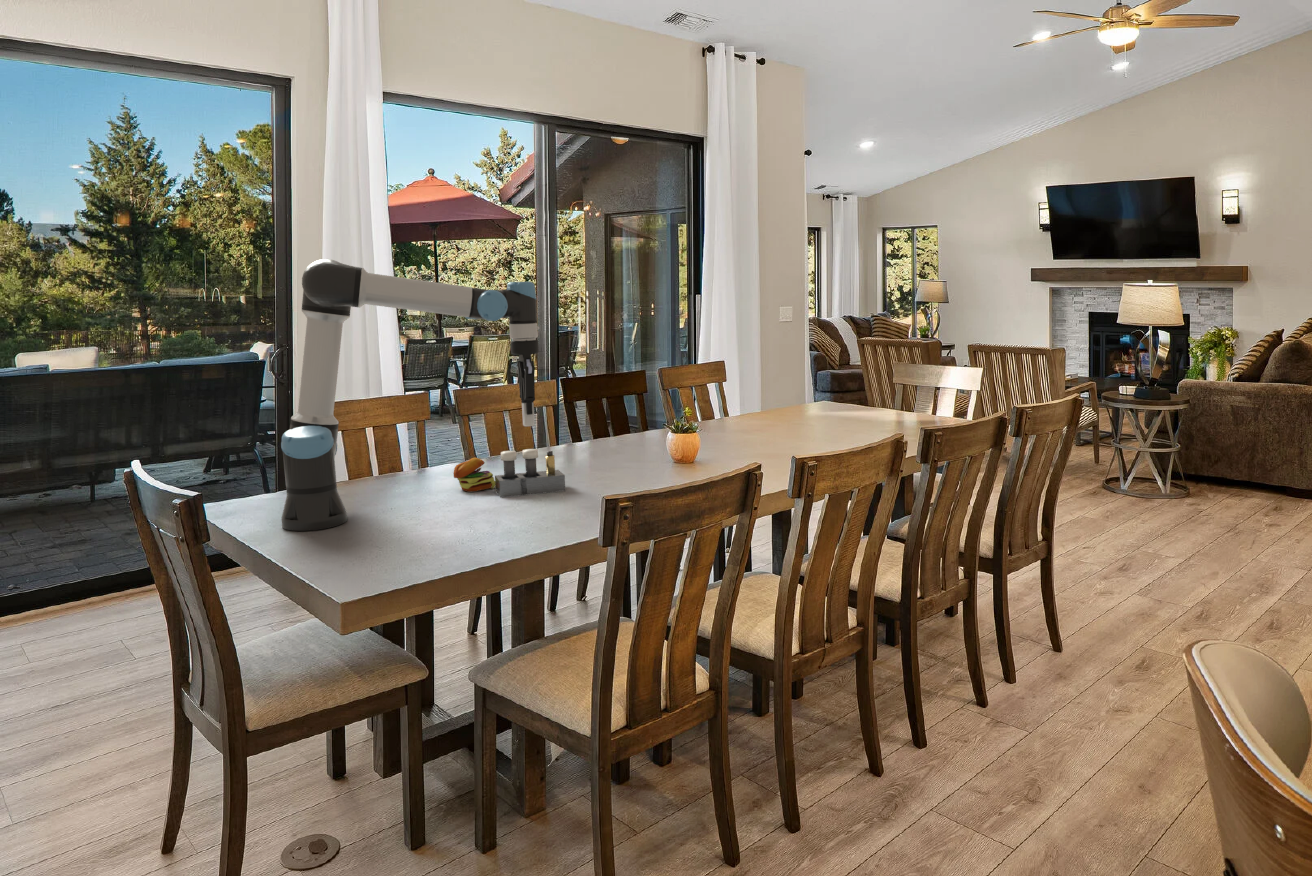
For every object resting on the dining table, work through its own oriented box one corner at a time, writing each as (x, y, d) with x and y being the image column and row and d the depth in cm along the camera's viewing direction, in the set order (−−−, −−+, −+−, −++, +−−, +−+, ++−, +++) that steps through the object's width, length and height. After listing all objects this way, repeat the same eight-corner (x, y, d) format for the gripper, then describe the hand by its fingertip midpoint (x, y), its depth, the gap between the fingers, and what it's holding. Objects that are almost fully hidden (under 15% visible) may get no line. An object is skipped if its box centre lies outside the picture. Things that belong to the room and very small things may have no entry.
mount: (500, 497, 249) (499, 481, 248) (495, 491, 256) (494, 475, 256) (565, 490, 255) (564, 474, 254) (559, 485, 262) (558, 469, 261)
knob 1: (503, 478, 250) (502, 454, 249) (500, 475, 254) (499, 451, 253) (518, 477, 252) (517, 452, 251) (516, 474, 256) (514, 450, 255)
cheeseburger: (493, 491, 256) (482, 458, 254) (456, 501, 256) (445, 468, 254) (499, 483, 265) (489, 450, 264) (464, 493, 266) (454, 460, 264)
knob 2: (525, 476, 252) (523, 452, 251) (522, 473, 256) (521, 449, 255) (540, 475, 254) (539, 450, 252) (537, 472, 258) (536, 448, 256)
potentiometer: (547, 474, 255) (546, 452, 254) (545, 472, 257) (544, 451, 256) (556, 473, 256) (554, 451, 255) (554, 472, 258) (553, 450, 257)
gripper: (543, 340, 243) (547, 428, 247) (532, 337, 257) (537, 421, 261) (515, 341, 241) (519, 430, 245) (505, 338, 254) (510, 423, 258)
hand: (528, 425), depth 253 cm, fingers closed
